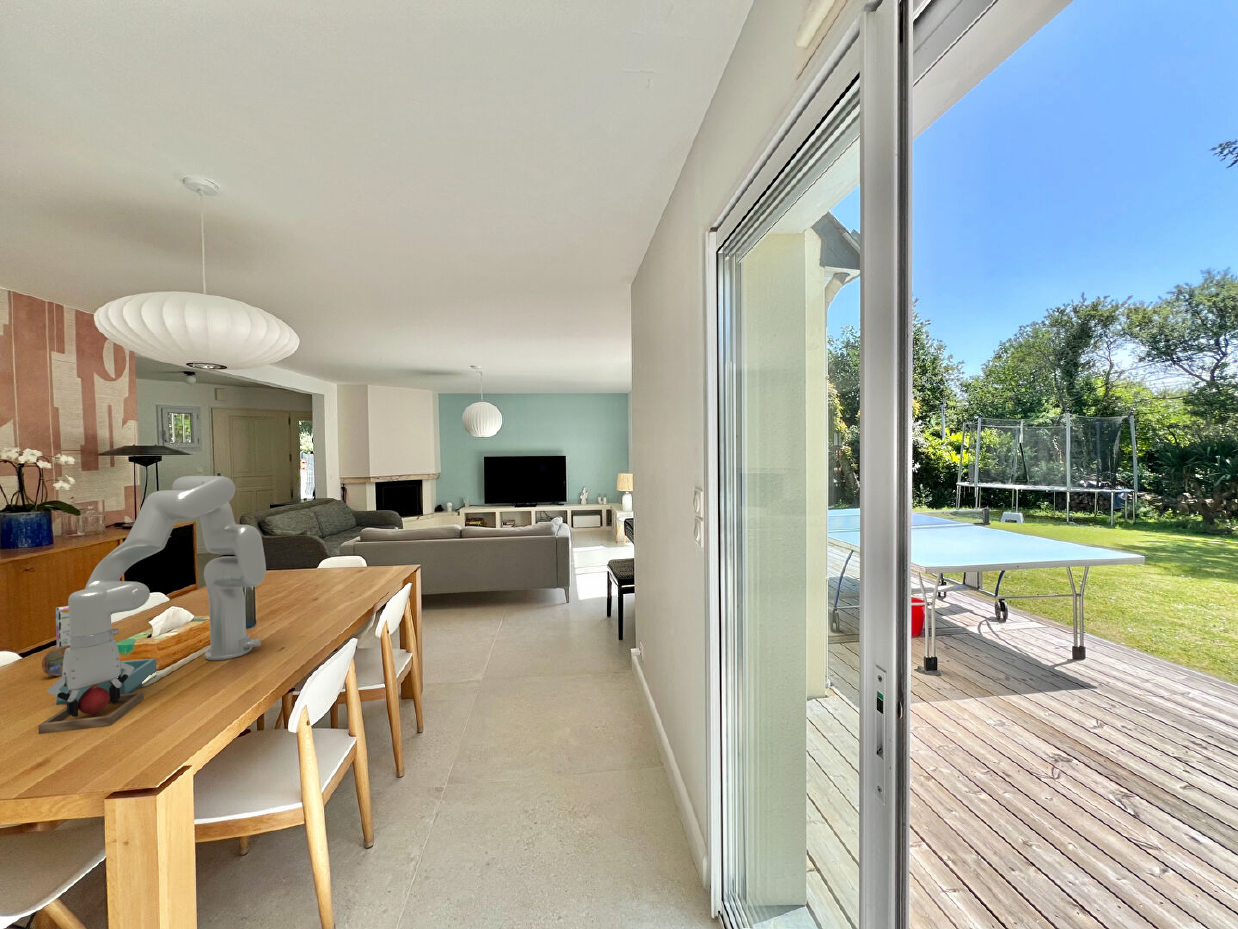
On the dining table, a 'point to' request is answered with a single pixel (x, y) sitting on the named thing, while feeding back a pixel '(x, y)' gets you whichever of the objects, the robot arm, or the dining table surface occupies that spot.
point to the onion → (93, 700)
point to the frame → (59, 725)
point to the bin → (130, 684)
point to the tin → (54, 661)
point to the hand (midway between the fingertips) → (94, 708)
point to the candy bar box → (62, 626)
